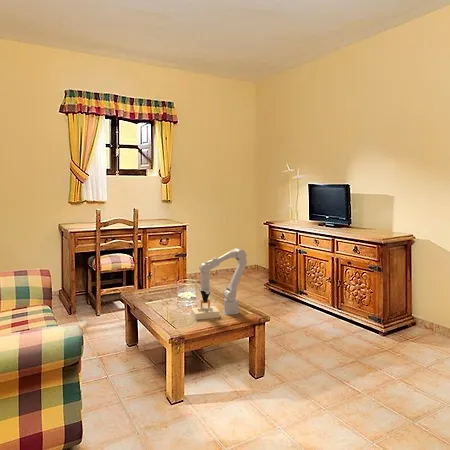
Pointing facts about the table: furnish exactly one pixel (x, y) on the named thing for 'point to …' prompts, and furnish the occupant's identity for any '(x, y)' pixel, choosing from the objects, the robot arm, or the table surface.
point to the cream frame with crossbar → (205, 312)
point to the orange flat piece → (205, 302)
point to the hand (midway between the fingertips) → (205, 301)
